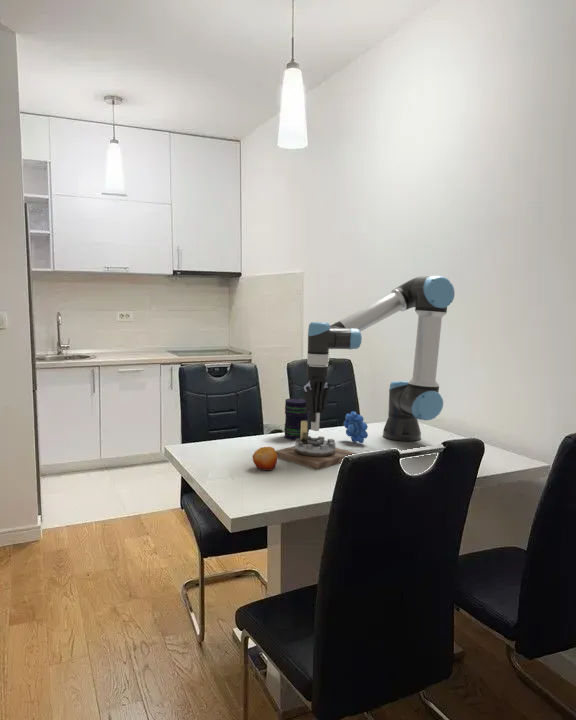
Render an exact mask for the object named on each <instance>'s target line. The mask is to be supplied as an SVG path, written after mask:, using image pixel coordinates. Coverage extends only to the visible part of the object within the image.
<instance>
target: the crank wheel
mask: <svg viewBox="0 0 576 720" xmlns="http://www.w3.org/2000/svg"><path fill="white" fill-rule="evenodd" d="M308 424H309V421H301V437H300V438H297V439H296V440H295V442H294V443H295V444H294V446H295V452H297V453H298V454H301V455H305V456H313V457H323V456H330V455H333V454H335V448H337V446H336V444H337V443H336V442H335V439H333V438H327V440H325V436H321V435H320V436H318V437H312V436H311V435H308V436H307V430H308Z"/></svg>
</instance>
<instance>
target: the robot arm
mask: <svg viewBox="0 0 576 720" xmlns="http://www.w3.org/2000/svg"><path fill="white" fill-rule="evenodd" d="M454 299H455V288H454V285H453V283H452V282H451V281H450V280H449V279H448V278H446V277H445V276H442V275H428V276H426V275H425V276H417V277H414V278H412V279H410V280H408V281H406V282H405V283H403V284H401V285H399V286H397V287H395V288H393V289H392V290H391V292H390V294H388V295H385V296H384V297H382V298H380V299H378V300H376V301H374V302H373V303H371V304H368V305H367V306H365V307H363V308H362V309H359V310H358V311H355V312H354V313H352V314H349V315H348V316H345V318H342V319H340V320H338V321H337V322H334V323H333V324H331V325H330V323H329V322H323V321H322V322H321V321H320V322H319V321H311V322H310V323H309V325H308V329H307V330H308V331H307V361H306V362H307V363H306V364H307V366H306V376H307V382H306V383H307V384H305V385H302V387H301V388H302V390H303V395H304V399H305V403H306V410H307V411H308V412H310V413H309V414H310V418H309V419H310V431H314V432H319V431H320V422H321V413H322V414H323V412H324V411H326V410H325V408H326V406H327V405H326V404H327V400H328V394H329V390H330V388H331V384H330V383H328V382H327V379H326V378H327V377H328V375H329V372H328V371H329V367H328V365H329V353H330V352H329V350H357V349H359V348H360V347H361V344H362V333H361V332H362V331H364V330H366V329H368V328H370V327H371V326H374V325H376V324H377V323H380V322H381V321H383V320H384V319H387V318H388V317H390V316H392V315H395V314H396V313H399V312H405V311H407V310H410V309H412V308H414V311H415V313H416V315H418V319H417V320H418V321H417V330H416V339H415V340H416V341H415V348H414V358H413V359H414V360H413V361H414V362H413V372H412V378H411V379H410V380H405V381H404V380H396V381H391V382H390V384H389V389H388V392H389V395H388V415H387V419H386V422H385V425H384V426H383V427H384V428H383V430H382V431H383V432H382V436H383V437H384V438H386V439H389V440H392V441H398V440H399V441H400V442H415V440H416V441H420V440H421V439H422V431H421V428H420V424H419V421H418V420H421V421H432V420H433V419H435V418H437V417H438V416H439V415H440V413H441V412H442V410H443V408H444V399H443V397H442V395H441V394H440V393H439V391H440V384H439V383H438V382H437V379H436V378H437V369H438V362H439V361H438V359H439V350H440V341H441V340H440V339H441V330H442V329H441V328H442V319H443V317H444V316H445V315H447V311H448V307H449V306H450V305H451V303H453V302H454Z"/></svg>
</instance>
